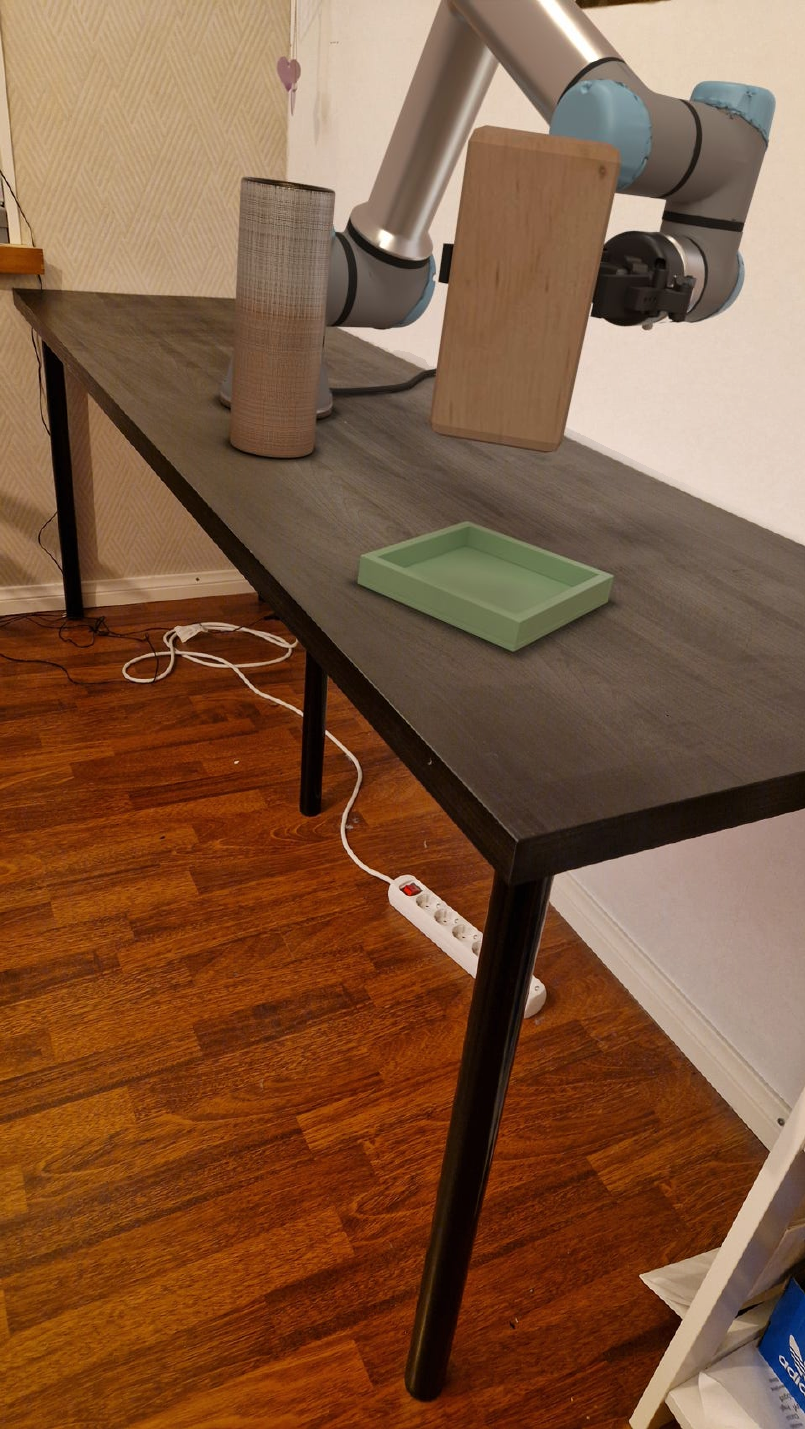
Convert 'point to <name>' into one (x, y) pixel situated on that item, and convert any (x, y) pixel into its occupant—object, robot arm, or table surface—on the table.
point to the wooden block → (521, 285)
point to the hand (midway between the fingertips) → (518, 279)
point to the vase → (279, 315)
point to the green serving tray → (486, 583)
